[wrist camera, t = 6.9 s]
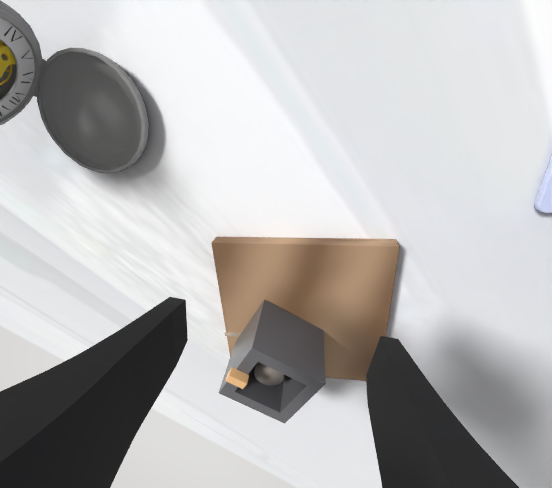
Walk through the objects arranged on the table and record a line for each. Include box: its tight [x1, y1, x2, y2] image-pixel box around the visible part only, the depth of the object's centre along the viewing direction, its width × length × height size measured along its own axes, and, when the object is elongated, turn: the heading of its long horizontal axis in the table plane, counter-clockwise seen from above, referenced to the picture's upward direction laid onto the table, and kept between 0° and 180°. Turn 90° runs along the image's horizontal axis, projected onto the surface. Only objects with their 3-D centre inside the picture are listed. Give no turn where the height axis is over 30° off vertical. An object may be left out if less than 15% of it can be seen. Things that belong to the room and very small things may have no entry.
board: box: [212, 237, 400, 386], centre depth 20 cm, size 12×12×4 cm
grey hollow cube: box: [219, 300, 325, 423], centre depth 20 cm, size 5×5×5 cm
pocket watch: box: [0, 1, 149, 173], centre depth 13 cm, size 8×8×10 cm
